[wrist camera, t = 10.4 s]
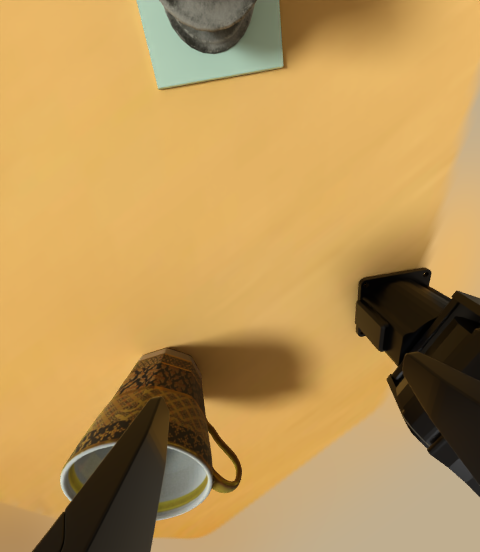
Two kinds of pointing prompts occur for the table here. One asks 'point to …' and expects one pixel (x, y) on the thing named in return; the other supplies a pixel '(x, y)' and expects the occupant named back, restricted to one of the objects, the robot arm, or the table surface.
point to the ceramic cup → (181, 435)
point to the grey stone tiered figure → (209, 22)
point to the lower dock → (205, 67)
